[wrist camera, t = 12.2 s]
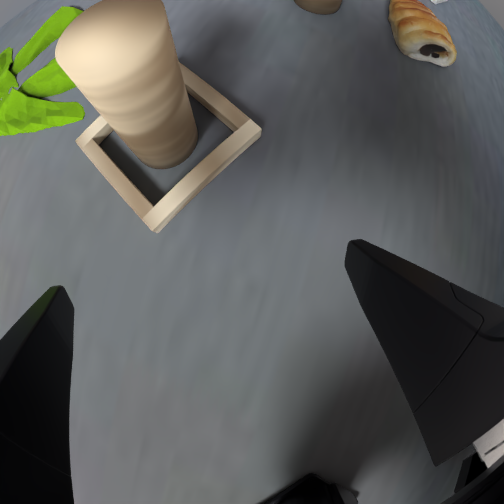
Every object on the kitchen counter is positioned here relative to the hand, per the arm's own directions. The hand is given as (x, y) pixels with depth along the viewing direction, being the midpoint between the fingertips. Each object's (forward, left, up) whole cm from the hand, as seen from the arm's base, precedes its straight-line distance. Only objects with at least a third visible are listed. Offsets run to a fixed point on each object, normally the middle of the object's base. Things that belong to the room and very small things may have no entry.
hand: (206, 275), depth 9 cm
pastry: (+28, +3, -10) cm, 30 cm away
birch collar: (+3, +9, -10) cm, 14 cm away
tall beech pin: (+3, +9, -10) cm, 14 cm away
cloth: (+1, +26, -10) cm, 28 cm away
